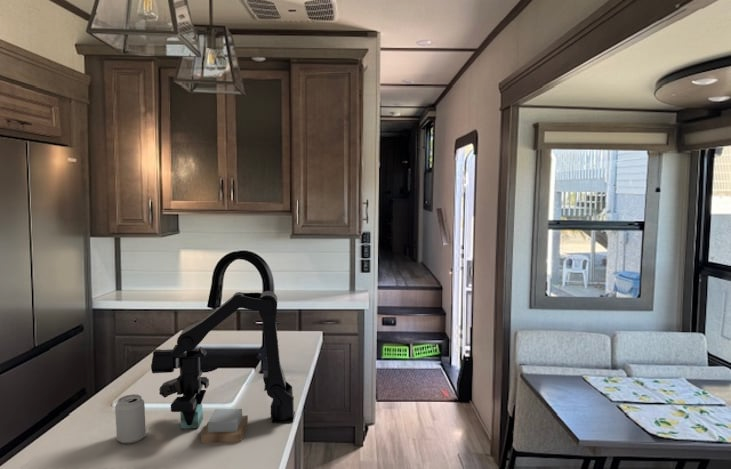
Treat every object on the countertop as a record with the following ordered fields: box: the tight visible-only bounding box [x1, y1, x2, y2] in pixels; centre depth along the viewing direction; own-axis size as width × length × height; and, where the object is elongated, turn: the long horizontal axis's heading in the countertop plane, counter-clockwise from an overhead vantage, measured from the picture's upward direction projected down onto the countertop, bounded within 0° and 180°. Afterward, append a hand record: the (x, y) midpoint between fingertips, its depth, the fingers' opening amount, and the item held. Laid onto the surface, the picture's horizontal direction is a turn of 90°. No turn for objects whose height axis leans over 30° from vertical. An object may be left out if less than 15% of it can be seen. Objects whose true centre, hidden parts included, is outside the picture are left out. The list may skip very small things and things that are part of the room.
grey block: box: [207, 408, 243, 432], centre depth 145 cm, size 8×8×3 cm
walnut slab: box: [200, 414, 249, 444], centre depth 146 cm, size 11×11×3 cm
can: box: [114, 393, 147, 445], centre depth 142 cm, size 8×8×12 cm
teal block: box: [179, 403, 204, 429], centre depth 150 cm, size 5×5×5 cm
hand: (192, 420), depth 150 cm, fingers closed on teal block, 5 cm apart
